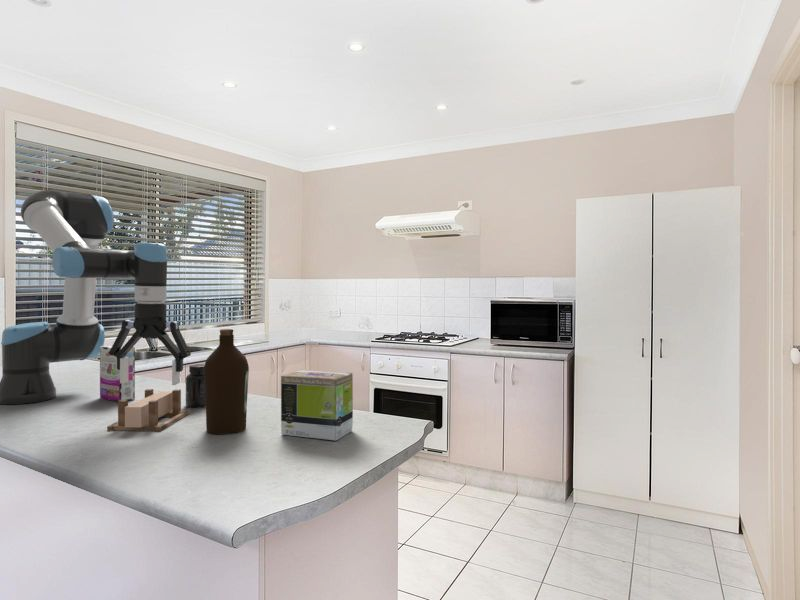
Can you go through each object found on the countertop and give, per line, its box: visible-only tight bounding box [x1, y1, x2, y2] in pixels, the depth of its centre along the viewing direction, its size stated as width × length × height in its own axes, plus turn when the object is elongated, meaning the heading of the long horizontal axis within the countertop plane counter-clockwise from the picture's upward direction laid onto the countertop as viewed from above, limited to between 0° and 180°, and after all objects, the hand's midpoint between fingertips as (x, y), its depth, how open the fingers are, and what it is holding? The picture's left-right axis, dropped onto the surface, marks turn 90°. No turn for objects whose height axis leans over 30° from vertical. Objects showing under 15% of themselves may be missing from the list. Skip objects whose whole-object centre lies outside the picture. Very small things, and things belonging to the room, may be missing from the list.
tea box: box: [280, 369, 354, 442], centre depth 125 cm, size 15×10×15 cm, turn 71°
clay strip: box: [125, 390, 172, 428], centre depth 133 cm, size 18×4×5 cm, turn 0°
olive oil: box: [204, 328, 250, 435], centre depth 127 cm, size 11×11×25 cm
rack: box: [106, 388, 191, 432], centre depth 133 cm, size 17×13×7 cm
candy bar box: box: [99, 345, 136, 402], centre depth 158 cm, size 11×5×16 cm, turn 61°
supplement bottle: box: [185, 363, 206, 409], centre depth 151 cm, size 7×7×12 cm
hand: (150, 383), depth 133 cm, fingers open, 13 cm apart
